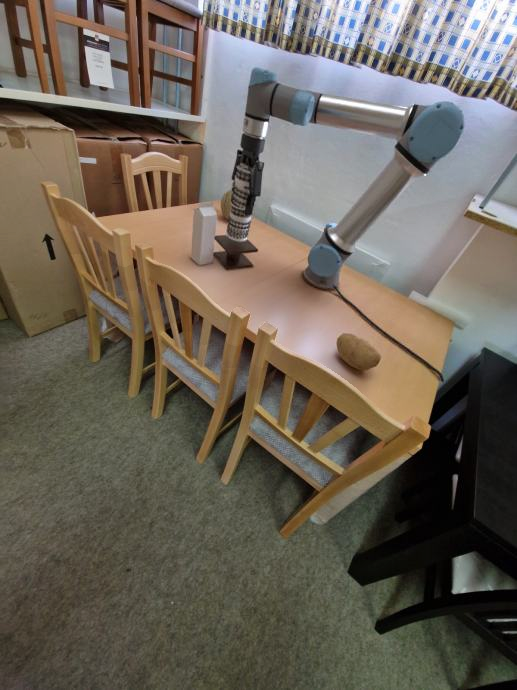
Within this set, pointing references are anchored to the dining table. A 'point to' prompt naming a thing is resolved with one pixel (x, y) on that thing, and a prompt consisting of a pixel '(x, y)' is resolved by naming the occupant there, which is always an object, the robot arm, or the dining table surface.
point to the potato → (357, 352)
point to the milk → (203, 233)
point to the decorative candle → (240, 205)
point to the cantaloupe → (226, 203)
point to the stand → (234, 252)
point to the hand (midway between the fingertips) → (241, 208)
